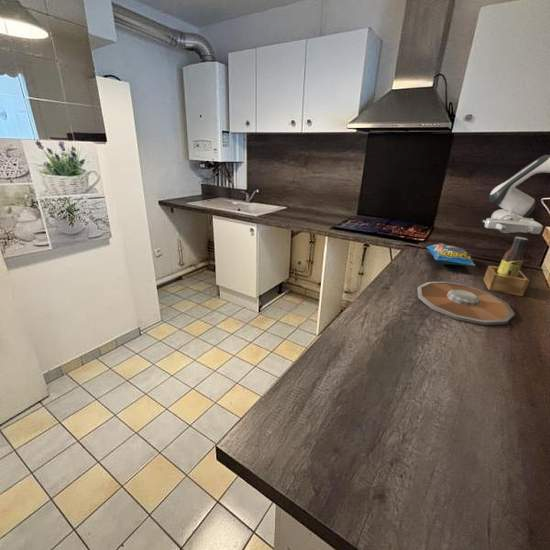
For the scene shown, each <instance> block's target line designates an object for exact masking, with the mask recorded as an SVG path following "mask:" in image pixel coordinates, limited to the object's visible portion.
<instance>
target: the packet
mask: <svg viewBox="0 0 550 550" xmlns="http://www.w3.org/2000/svg"><path fill="white" fill-rule="evenodd" d="M426 250H427V252H428V253H429V254H430V255H432V256H433V258H434V260H435V263H436V264H441V265H442V266H464V267H474V266H476V263H474V262H473V259H472V257H471V255H470V254H469V253H468V252H467V251H466V250H465V249H464V248H461V247H457V246H453V245H448V244H445V243H443V242H440V243H435V244H432V245H429V246H426Z"/></svg>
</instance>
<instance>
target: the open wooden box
mask: <svg viewBox="0 0 550 550" xmlns="http://www.w3.org/2000/svg"><path fill="white" fill-rule="evenodd" d="M498 268H499V266H494V265H488V266H487V269H486V271H485V274H484V277H483V282H484V284H485V285H486V288H487V289H488V290H489V291H493V292H499V293H503V294H509V295H513V296H518V297H519V296H520V297H523V296H524V294H525V292H526V290H527V287H528V285H529V282H530V279H529V278H528V277H527V276H526V275H525V274H524V273H523V272H522V270H520V269H519V271H518V274H517V276H516V277H510V276H504V275H498V274H496V273H497V271H498Z"/></svg>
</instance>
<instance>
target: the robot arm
mask: <svg viewBox="0 0 550 550" xmlns="http://www.w3.org/2000/svg"><path fill="white" fill-rule="evenodd" d="M543 173H546V174H550V154H544V155H542V156H540V157H538V158H536V159H535V160H534V161H533V162H531V163H529V164H527V165H526V166H525V167H523V168H522V169H521V170H519V171H518V172H516V173H515V174H514V175H512V176H511V177H509V178H508V179H506V180H505V181H503V182H501V183H499V185H496V186H495V187H494V188H493V189H492V190H491V191H490V193H489V202H490V203H491V204H493V205H495V206H498V207H499V208H501V209H497V210H495V211H493V212H492V213H491V216H490V217H487V218H486V219H482V221H481V222H482V223H483V224H484V225H483V226H484V228H486V229H491V230H498V232H500V233H503V234H513V233H514V234H515V233H516V234H517V233H519V234H521V233H523V234H532V235H533V234H534V235H540V234H541V232H542V231H543V227H544V226H543V225H542V224H541V222H540V223H539V222H538V221H536V220H535V219H534V218H532V217H528V216H530V215H531V213H532V212H533V211H534V210H535V207H536V199H535V198H533V197H532V196H530V195H529V194H527V193H525V192H523V191H522V190H520V189H518V188H516V187H517V186H519V185H520V184H522V183H523V182H524V181H526V180H527V179H529V178H530V177H532V176H534V175H536V174H543Z"/></svg>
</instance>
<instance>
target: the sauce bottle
mask: <svg viewBox="0 0 550 550" xmlns="http://www.w3.org/2000/svg"><path fill="white" fill-rule="evenodd" d="M528 241H529V238H526V237H522V236H514V238H513V242H512V245H511V247H510V248H509V249H508V250H507V251H506V252H505V253H504V254H503V257H502V259H501V261H500V263H499V265H498V267H499V268H498V271H497V273H496V274H498V275H504V276H510V277H516V276H517V274H518V271H519V270H520V269H521V266H522V264H523V262H524V250H525V247H526V245H527V244H528Z"/></svg>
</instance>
